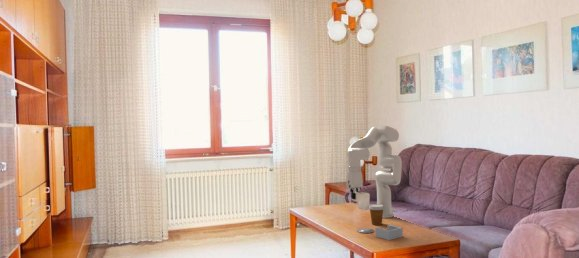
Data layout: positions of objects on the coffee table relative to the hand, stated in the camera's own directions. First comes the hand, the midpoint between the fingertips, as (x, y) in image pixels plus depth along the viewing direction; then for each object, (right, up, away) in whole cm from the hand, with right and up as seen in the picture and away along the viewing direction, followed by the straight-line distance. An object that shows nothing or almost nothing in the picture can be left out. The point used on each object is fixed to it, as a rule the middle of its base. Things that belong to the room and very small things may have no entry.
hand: (355, 198), depth 269 cm
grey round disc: (+5, -19, -6) cm, 20 cm away
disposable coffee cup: (+15, -18, +11) cm, 26 cm away
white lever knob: (+2, -5, -3) cm, 6 cm away
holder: (+16, -19, -19) cm, 31 cm away
